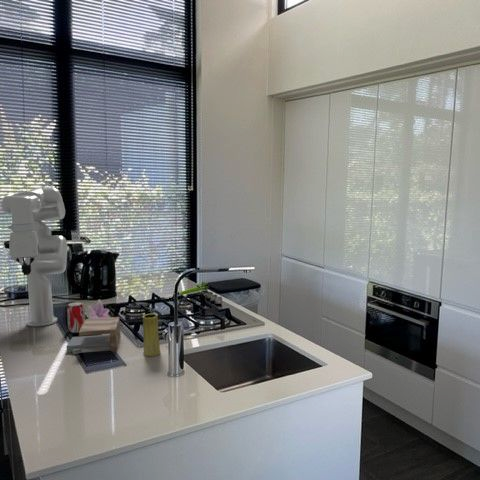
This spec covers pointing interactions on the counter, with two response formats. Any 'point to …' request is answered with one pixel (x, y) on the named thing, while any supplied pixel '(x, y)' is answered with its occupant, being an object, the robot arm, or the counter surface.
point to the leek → (190, 290)
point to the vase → (151, 335)
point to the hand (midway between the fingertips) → (26, 274)
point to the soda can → (75, 316)
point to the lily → (99, 311)
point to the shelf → (101, 327)
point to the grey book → (88, 342)
